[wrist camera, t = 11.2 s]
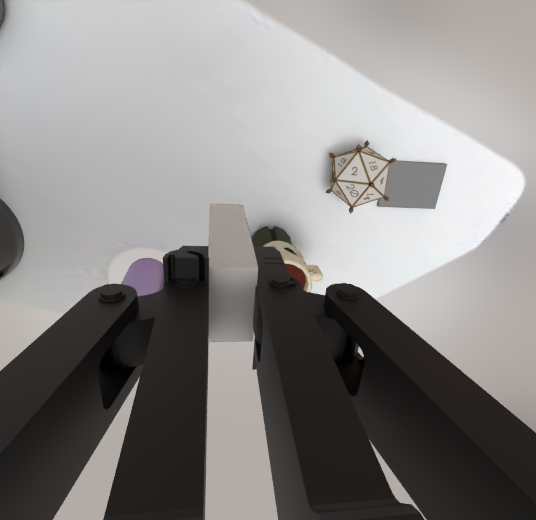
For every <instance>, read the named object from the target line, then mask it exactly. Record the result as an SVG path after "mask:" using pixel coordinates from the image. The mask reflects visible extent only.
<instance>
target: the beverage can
mask: <svg viewBox="0 0 536 520" xmlns="http://www.w3.org/2000/svg"><path fill="white" fill-rule="evenodd" d="M121 284H124V285H128V286H131V287H133V288H134V289H136V292H137V296H143V295H148V294H152V293H155V292H158V291H160V290H162V289H163V285H164V269H163V264H162V263H161V262H159V261H157V260H155V259H152V258H143V259H139V260H137V261H135V262H134V263H133V264H132V265H131V266H130V268H129V270H128V272H127V274H126V275H125V277H124V279H123V281H122V283H121Z"/></svg>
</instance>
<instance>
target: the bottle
mask: <svg viewBox="0 0 536 520" xmlns="http://www.w3.org/2000/svg"><path fill="white" fill-rule="evenodd" d="M3 15H4V2H3V0H0V25H1V23H2V21H3Z"/></svg>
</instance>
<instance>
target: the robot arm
mask: <svg viewBox="0 0 536 520" xmlns="http://www.w3.org/2000/svg"><path fill="white" fill-rule="evenodd" d="M23 250H24V237H23V232H22V229H21V226H20V224H19V222H18V220H17V218H16V216H15V215H14V213H13V212H12V211H11V209H10V208H9V207H8V206H7V205H6V204H5V203H4V202H3V201H2V200H1V199H0V280H1V279H2V278H4V277H5V276H6V275H7V274H8V273H10V272H11V271H12V270H13V269H14V268H15V267H16V266H17V265H18V263H19V261H20V259H21V257H22V254H23ZM163 269H164V285H163V289H162V290H160V291H158V292H155V293H152V294H148V295H143V296H137V292H136V289H134V288H133V287H131V286H128V285H124V284H111V285H109V284H108V285H104V286H101V287H99V288H96V289H94V290H92V291H91V292H89V293H88V294H87V295H86V296H85V297H83V298H82V299H81V300H80V301H79V302H78V303H77V304H76V305H74V306H73V307H72V308H71V309H70V310H69V311H68V312H67V313H65V314H64V315H63V316H62V317H61V318H60V319H59V320H57V321H56V322H55V323H54V324H53V325H52V326H51V327H50V328H48V329H47V330H46V331H45V332H44V333H43V334H42V335H41V336H39V337H38V338H37V339H36V340H35V341H34V342H33V343H32V344H31V345H29V346H28V347H27V348H26V349H25V350H24V351H23V352H21V353H20V354H19V355H18V356H17V357H16V358H15V359H13V360H12V361H11V362H10V363H9V364H8V365H7V366H6V367H4V368H3V369H2V370H1V371H0V520H53V518H54V516H55V515H56V513H57V511H58V510H59V508H60V506H61V505H62V503H63V502H64V500H65V498H66V497H67V495H68V493H69V492H70V490H71V489H72V487H73V485H74V484H75V482H76V480H77V479H78V477H79V475H80V474H81V472H82V470H83V469H84V467H85V465H86V464H87V462H88V461H89V459H90V457H91V456H92V454H93V452H94V450H95V449H96V447H97V446H98V444H99V442H100V441H101V439H102V438H103V436H104V434H105V433H106V431H107V429H108V428H109V426H110V424H111V423H112V421H113V419H114V418H115V416H116V414H117V413H118V411H119V410H120V408H121V406H122V405H123V403H124V401H125V399H126V398H127V396H128V395H129V393H130V391H131V390H132V388H133V387H134V385H135V383H136V382H137V380H138V378H139V377H140V379H139V383H138V387H137V391H136V395H135V399H134V402H133V406H132V410H131V414H130V418H129V422H128V426H127V430H126V434H125V437H124V442H123V445H122V449H121V453H120V457H119V461H118V465H117V469H116V473H115V477H114V480H113V484H112V488H111V492H110V496H109V500H108V504H107V508H106V512H105V516H104V519H103V520H205V486H206V437H207V390H208V386H207V385H208V342H238V341H253V332H254V334H255V343H254V356H253V369H257V376H258V383H259V389H260V396H261V403H262V409H263V416H264V423H265V430H266V437H267V445H268V451H269V458H270V465H271V472H272V479H273V486H274V493H275V500H276V506H277V513H278V520H424V518H423V517H422V515H421V513H420V512H419V511H418V510H417V509H415V508H414V507H413V506H412V505H411V504H403V503H400V502H399V501H398V500H397V499H396V498H395V497H394V495H393V493H392V491H391V489H390V487H389V484H388V482H387V480H386V478H385V475H384V473H383V471H382V468H381V466H380V464H379V462H378V459H377V457H376V455H375V452H374V450H373V448H372V446H371V443H372V444H373V445H374V447H375V448H376V449H377V451H378V452H379V454H380V455H381V456H382V458H383V459H384V460H385V462H386V463H387V465H388V466H389V468H390V469H391V470H392V472H393V473H394V474H395V476H396V477H397V479H398V480H399V481H400V483H401V484H402V486H403V487H404V488H405V490H406V491H407V493H408V494H409V496H410V497H411V498H412V500H413V501H414V503H415V504H416V505H417V507H418V508H419V510H420V511H421V512H422V514H423V515H424V517H425V518H426V519H427V520H536V433H535V432H534V431H533V430H532V429H530V428H529V427H528V426H527V425H526V424H524V423H523V422H522V421H521V420H520V419H518V418H517V417H516V416H515V415H514V414H512V413H511V412H510V411H509V410H507V409H506V408H505V407H504V406H503V405H502V404H500V403H499V402H498V401H497V400H495V399H494V398H493V397H492V396H491V395H490V394H488V393H487V392H486V391H485V390H484V389H482V388H481V387H480V386H479V385H478V384H476V383H475V382H474V381H473V380H472V379H470V378H469V377H468V376H467V375H465V374H464V373H463V372H462V371H461V370H459V369H458V368H457V367H456V366H455V365H453V364H452V363H451V362H450V361H449V360H447V359H446V358H445V357H444V356H442V355H441V354H440V353H439V352H438V351H437V350H435V349H434V348H433V347H432V346H431V345H429V344H428V343H427V342H426V341H425V340H423V339H422V338H421V337H420V336H419V335H417V334H416V333H415V332H414V331H412V330H411V329H410V328H409V327H408V326H407V325H405V324H404V323H403V322H402V321H400V320H399V319H398V318H397V317H396V316H394V315H393V314H392V313H391V312H390V311H388V310H387V309H386V308H385V307H384V306H383V305H381V304H380V303H379V302H378V301H377V300H375V299H374V298H373V297H372V296H370V295H369V294H368V293H367V292H366V291H364V290H362V289H361V288H359V287H356V286H354V285H352V284H347V283H342V284H333V285H330V286H329V287H328V288H326V294H325V295H320V294H314V293H310V292H306V291H304V290H303V288H302V285H301V283H300V282H299V281H298V279H296V278H294V277H292V276H290V275H289V273H288V270H287V268H286V265H285V263H284V260H283V258H282V255H281V253H280V251H278V250H277V249H276V248H274V247H264V246H253V244H252V240H251V236H250V232H249V228H248V223H247V219H246V215H245V211H244V207H243V205H231V204H210V224H209V246H182V247H181V248H180V249H179V250H175V251H171V252H169V253H167V254H165V256H164V257H163ZM359 347H360V348H361V350H362V352H363V354H364V357H362V356H361V355H360V354H359V353H358V348H359ZM368 438H369V439H368ZM369 440H370V441H371V443H370V441H369Z"/></svg>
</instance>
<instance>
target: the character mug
mask: <svg viewBox="0 0 536 520" xmlns="http://www.w3.org/2000/svg"><path fill="white" fill-rule="evenodd" d="M274 228H275V232H274V231H269V228H268V227H265V228H263V229H261V230H259V231H257V233H256V234H255V235H254V236H253V237H252V239H251V240H252V244H253V246H264V247H274V248H276V249H277V250H278V251H280V253H281V255H282V258H283V260H284V263H285V265H286V268H287V270H288V273H289V275H290V276H292V277H294V278H296V279H298V281H299V282H300V283H301V285H302V288H303V290H304V291H306V292H310V291H311V288H312V283H311V281H320V280H322V278H323V275H322V273H321V271H320V269H319V267H318V266H316V265H306V263H305V261H304V259H303V257H302V255H301V253H300V252H299V251H298V250H297V249H296V248H295V247H294V246H292V245H291V240H290V237H289V236H288V235H287V233H286V232H285V231H284V230H282V229H280V228H278V227H274ZM309 272H313V273H311V274H310V273H309Z"/></svg>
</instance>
